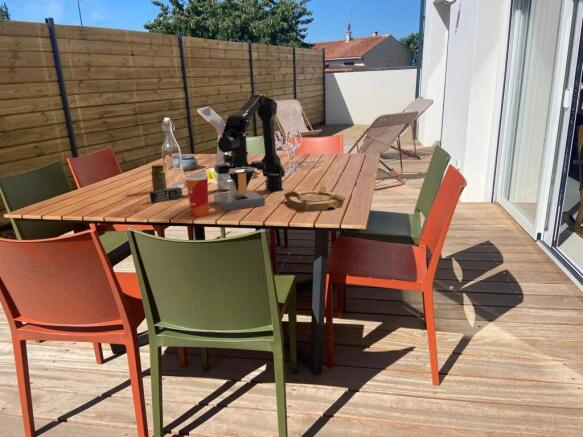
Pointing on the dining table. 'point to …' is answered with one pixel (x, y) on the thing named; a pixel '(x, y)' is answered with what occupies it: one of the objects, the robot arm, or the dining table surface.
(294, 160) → the dining table surface
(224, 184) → the plastic bottle
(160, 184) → the condiment
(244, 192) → the orange rectangular block
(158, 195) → the dark grey elongated bar
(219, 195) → the grey slotted base plate
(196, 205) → the coffee cup
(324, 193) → the ashtray
